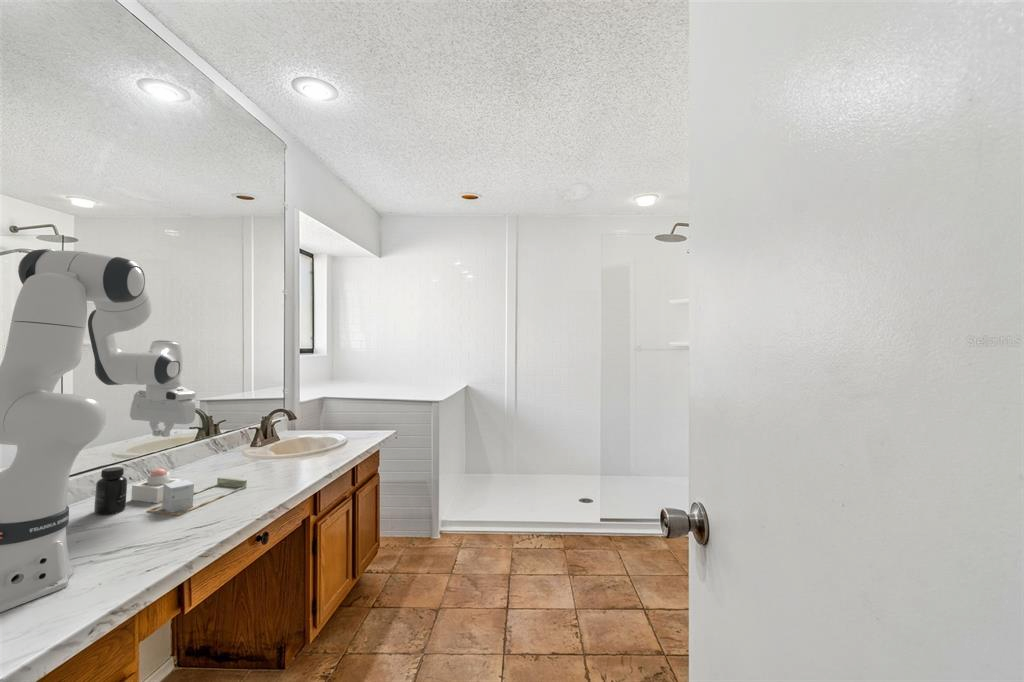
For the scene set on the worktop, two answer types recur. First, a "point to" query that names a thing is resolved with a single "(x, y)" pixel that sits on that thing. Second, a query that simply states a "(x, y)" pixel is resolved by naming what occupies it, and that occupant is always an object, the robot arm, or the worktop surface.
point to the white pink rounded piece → (158, 477)
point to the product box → (177, 496)
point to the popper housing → (148, 492)
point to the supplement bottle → (111, 491)
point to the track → (220, 481)
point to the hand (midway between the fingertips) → (161, 436)
